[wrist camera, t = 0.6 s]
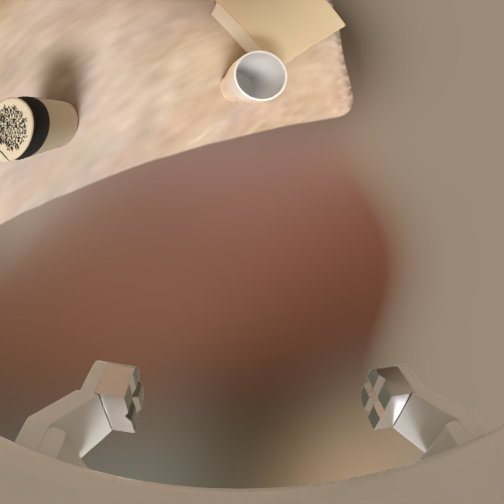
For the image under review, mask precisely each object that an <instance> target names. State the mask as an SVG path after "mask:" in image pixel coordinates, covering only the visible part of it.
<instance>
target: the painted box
mask: <svg viewBox="0 0 504 504" xmlns="http://www.w3.org/2000/svg"><path fill="white" fill-rule="evenodd" d="M215 1H216V2H217V3H216V5H215V8H214V10H213V12H212V14H211V15H212V16H213V17H214V18H215V19H216V20H217V21H218V22H219V23H220V25H221V26H222V27H223V28H224V29H225V30H226V31H227V32H228V33H229V34H230V35H231V36H232V37H233V38H234V39H235V40H236V41H237V43H238V44H239V45H240V46H241V47H242V48H243V49H244V50H245V51H246V53H248V52H251V51H255V50H263V51H268V52H270V53H272V54H274V55H276V56H277V57H278V58H279V59H280V60H281V61H282V62H283V64H284V65H285V64H287V63H288V62H290V61H291V60H293V59H294V58H295V57H297V56H298V55H300V54H301V53H303V52H304V51H306V50H307V49H309V48H310V47H312V46H313V45H315V44H316V43H318V42H320V41H321V40H323V39H324V38H326V37H328V36H329V35H331V34H332V33H334V32H336V31H337V30H339V29H340V28H342V27H344V26H345V24H344V22H343V21H342V20H341V18H340V17H339V16H338V15H337V13H336V12H335V11H334V9H333V8H332V7H331V6H330V4H329V3H328V2H327V1H326V0H215Z"/></svg>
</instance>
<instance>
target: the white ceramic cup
mask: <svg viewBox="0 0 504 504" xmlns="http://www.w3.org/2000/svg"><path fill="white" fill-rule="evenodd" d="M286 83H287V71H286V68H285V65H284V64H283V62H282V61H281V60H280V59H279V58H278V57H277V56H276V55H274V54H272V53H270V52H268V51H263V50H255V51H251V52H248V53H246V54H244V55H243V56H241V57H240V58H238V59H237V60H236V61H235V62H234V63H233V64H232V65H231V67H230V68H229V70H228V72H227V73H226V75H225V76H224V77H223V79H222V80H221V83H220V91H221V93H222V95H223V96H224V97H225V98H226V99H227V100H229V101H231V102H245V103H260V102H265V101H268V100H271V99H273V98H275V97H277V96H278V95H279V94H280V93H281V92H282V91H283V90H284V88H285V86H286Z"/></svg>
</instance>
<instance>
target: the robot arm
mask: <svg viewBox="0 0 504 504" xmlns="http://www.w3.org/2000/svg"><path fill="white" fill-rule="evenodd" d="M139 376H140V372H139V368H138V367H135V366H129V365H123V364H117V363H111V362H110V363H109V362H104V361H99V360H97V361H96V362H95V363H94V365H93V366H92V368H91V370H90V372H89V374H88V376H87V378H86V380H85V382H84V384H83V386H82V388H81V390H80V391H79V390H75V391H74V392H72V393H70V394H69V395H67V396H65V397H63V398H62V399H60V400H58V401H56V402H55V403H53V404H51V405H49V406H47V407H46V408H44V409H42V410H40V411H39V412H37V413H35V414H33V415H31V416H30V417H28V418H27V420H26V422H25V424H24V426H23V428H22V429H21V431H20V433H19V435H18V437H17V439H16V441H15V443H14V442H12V441H10V440H7V439H5V438H3V437H1V436H0V504H504V424H503V425H502V426H500V427H498V428H496V429H494V430H492V431H490V432H488V433H487V431H486V430H485V429H484V427H483V426H482V424H481V423H480V421H479V420H478V419H477V417H476V416H475V415H474V413H473V412H470V411H469V410H466V409H465V408H463V407H461V406H459V405H457V404H455V403H453V402H451V401H449V400H447V399H446V398H444V397H442V396H440V395H438V394H436V393H434V392H432V391H430V390H425V388H424V387H423V385H422V384H421V382H420V381H419V379H418V378H417V376H416V375H415V374H414V372H413V371H412V369H411V368H410V366H409V365H407V364H403V365H397V366H390V367H382V368H374V369H371V371H370V372H369V374H368V379H369V381H368V382H367V383H366V384H365V385H364V386H363V389H362V392H361V400H362V405H363V407H364V409H366V410H367V411H368V412H370V414H369V416H368V418H369V420H370V423H371V425H372V427H373V429H374V430H376V429H382V428H388V427H393V426H394V427H393V428H394V429H396V430H397V431H398V432H399V433H401V434H402V435H403V436H404V437H406V438H407V439H408V440H410V441H411V442H412V443H413V444H415V445H416V446H417V447H418V448H420V449H421V450H422V451H424V452H425V454H424V455H423V456H422V457H421V459H420V460H419V461H416V462H413V463H410V464H407V465H403V466H400V467H396V468H393V469H389V470H385V471H381V472H377V473H373V474H368V475H364V476H359V477H354V478H349V479H344V480H338V481H332V482H326V483H319V484H311V485H302V486H292V487H280V488H264V489H263V488H261V489H215V488H196V487H185V486H175V485H167V484H159V483H152V482H146V481H140V480H134V479H129V478H124V477H119V476H115V475H110V474H106V473H102V472H98V471H94V470H90V469H87V467H86V466H85V464H84V463H83V461H82V460H81V457H82V456H84V455H85V454H86V453H87V452H88V451H89V450H90V449H92V447H94V446H95V445H96V444H97V443H98V442H99V441H101V440H102V439H103V438H104V437H105V436H106V435H107V434H108V433H110V431H112V430H111V429H113V430H119V431H125V432H132V433H135V430H136V426H137V423H138V419H139V418H138V415H137V412H138V411H139V410H141V407H142V404H143V387H142V384H141V383H140V382H139V381H138V380H139Z"/></svg>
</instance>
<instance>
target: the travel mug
mask: <svg viewBox="0 0 504 504" xmlns="http://www.w3.org/2000/svg"><path fill="white" fill-rule="evenodd" d="M77 127H78V115H77V112H76V110H75V108H74V107H73V106H72V105H71V104H70V103H68V102H66V101H60V100H52V99H44V98H35V97H18V98H8V99H5V100H3V101H1V102H0V161H3V162H8V161H12V160H20V159H24V158H27V157H29V156H32V155H35V154H38V153H42V152H45V151H48V150H51V149H54V148H58V147H61V146H63V145H65V144H67V143H68V142H69V141H70V140H71V139H72V138H73V136H74V135H75V133H76V130H77Z"/></svg>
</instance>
